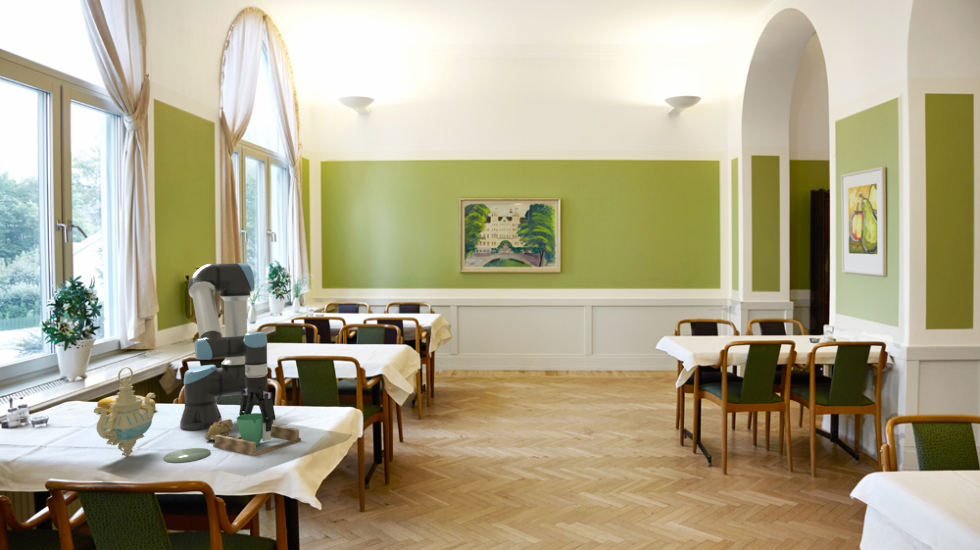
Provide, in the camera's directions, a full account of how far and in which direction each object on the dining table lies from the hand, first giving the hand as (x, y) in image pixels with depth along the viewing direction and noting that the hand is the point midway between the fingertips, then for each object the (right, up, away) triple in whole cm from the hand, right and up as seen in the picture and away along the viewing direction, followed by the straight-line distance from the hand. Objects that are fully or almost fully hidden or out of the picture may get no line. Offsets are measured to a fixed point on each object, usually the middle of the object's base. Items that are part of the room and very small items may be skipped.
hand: (257, 438), depth 219 cm
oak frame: (0, -2, 0) cm, 2 cm away
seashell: (-17, -3, +5) cm, 19 cm away
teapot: (-39, -3, -13) cm, 41 cm away
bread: (-75, -3, +49) cm, 90 cm away
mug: (0, -2, 0) cm, 2 cm away
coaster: (-18, -2, -13) cm, 23 cm away
